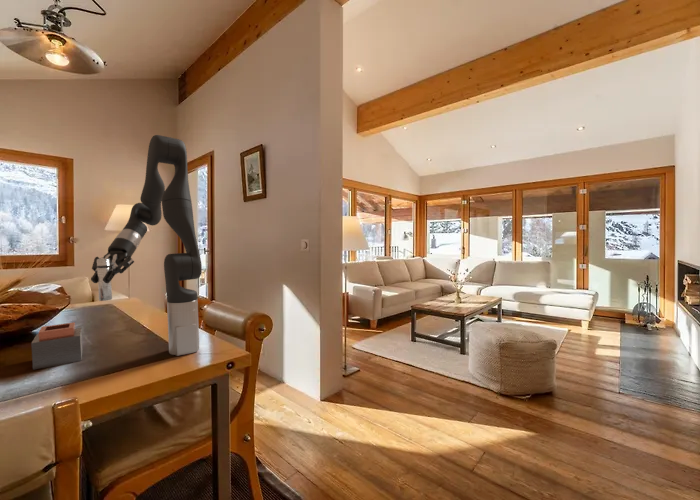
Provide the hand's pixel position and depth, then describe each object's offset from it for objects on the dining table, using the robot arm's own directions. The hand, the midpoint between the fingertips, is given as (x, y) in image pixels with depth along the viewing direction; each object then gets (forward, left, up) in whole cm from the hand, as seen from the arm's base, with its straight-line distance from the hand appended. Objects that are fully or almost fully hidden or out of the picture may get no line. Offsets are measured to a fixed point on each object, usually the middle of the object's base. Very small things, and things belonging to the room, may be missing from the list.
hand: (99, 281), depth 109 cm
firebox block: (0, +11, -24) cm, 26 cm away
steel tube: (+1, -1, -7) cm, 7 cm away
